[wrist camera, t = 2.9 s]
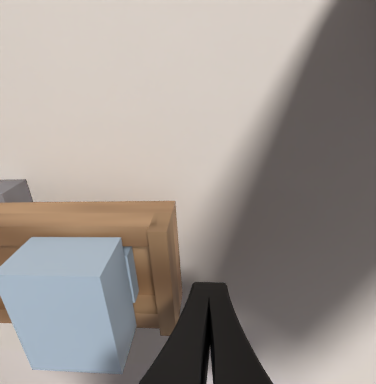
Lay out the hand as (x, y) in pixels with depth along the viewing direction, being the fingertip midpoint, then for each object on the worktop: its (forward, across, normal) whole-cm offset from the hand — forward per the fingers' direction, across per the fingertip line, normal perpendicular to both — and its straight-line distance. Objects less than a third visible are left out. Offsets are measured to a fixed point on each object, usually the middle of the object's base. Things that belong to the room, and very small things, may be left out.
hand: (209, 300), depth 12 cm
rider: (+2, +6, 0) cm, 6 cm away
